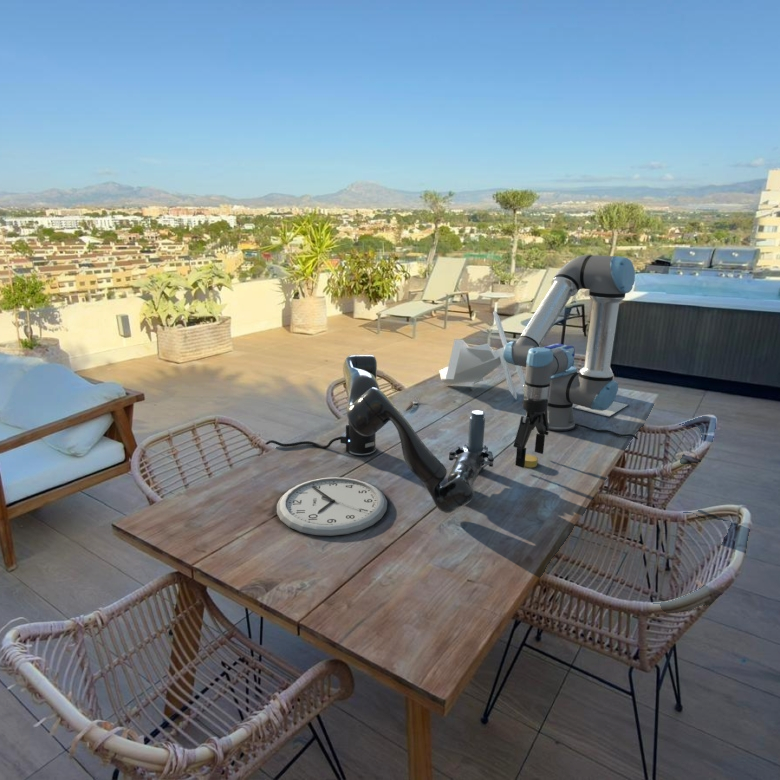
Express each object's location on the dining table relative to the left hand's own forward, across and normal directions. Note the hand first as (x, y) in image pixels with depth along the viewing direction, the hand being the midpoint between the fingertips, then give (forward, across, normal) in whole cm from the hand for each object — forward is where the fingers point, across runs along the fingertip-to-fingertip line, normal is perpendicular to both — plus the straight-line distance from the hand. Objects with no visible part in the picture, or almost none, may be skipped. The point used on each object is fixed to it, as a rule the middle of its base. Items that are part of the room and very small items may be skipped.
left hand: (476, 447), depth 166 cm
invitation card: (+78, -41, +6) cm, 88 cm away
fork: (+48, +36, +6) cm, 60 cm away
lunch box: (+99, -18, +6) cm, 101 cm away
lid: (+7, -16, +4) cm, 18 cm away
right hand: (+8, -16, +5) cm, 19 cm away
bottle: (-3, 0, +6) cm, 7 cm away
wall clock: (-39, +32, +6) cm, 51 cm away
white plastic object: (+79, +12, +6) cm, 80 cm away
